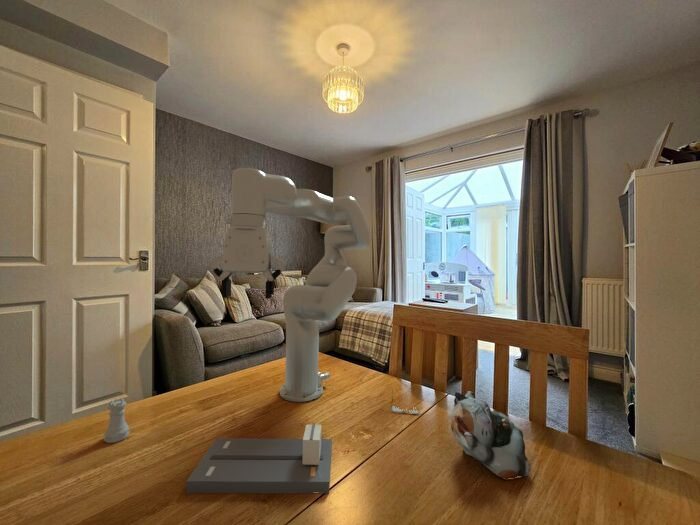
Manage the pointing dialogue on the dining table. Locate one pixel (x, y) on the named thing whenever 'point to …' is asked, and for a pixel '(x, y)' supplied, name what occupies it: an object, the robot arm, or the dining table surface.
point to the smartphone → (404, 410)
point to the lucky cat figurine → (489, 437)
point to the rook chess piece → (116, 422)
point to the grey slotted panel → (260, 467)
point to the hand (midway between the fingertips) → (247, 297)
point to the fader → (312, 445)
